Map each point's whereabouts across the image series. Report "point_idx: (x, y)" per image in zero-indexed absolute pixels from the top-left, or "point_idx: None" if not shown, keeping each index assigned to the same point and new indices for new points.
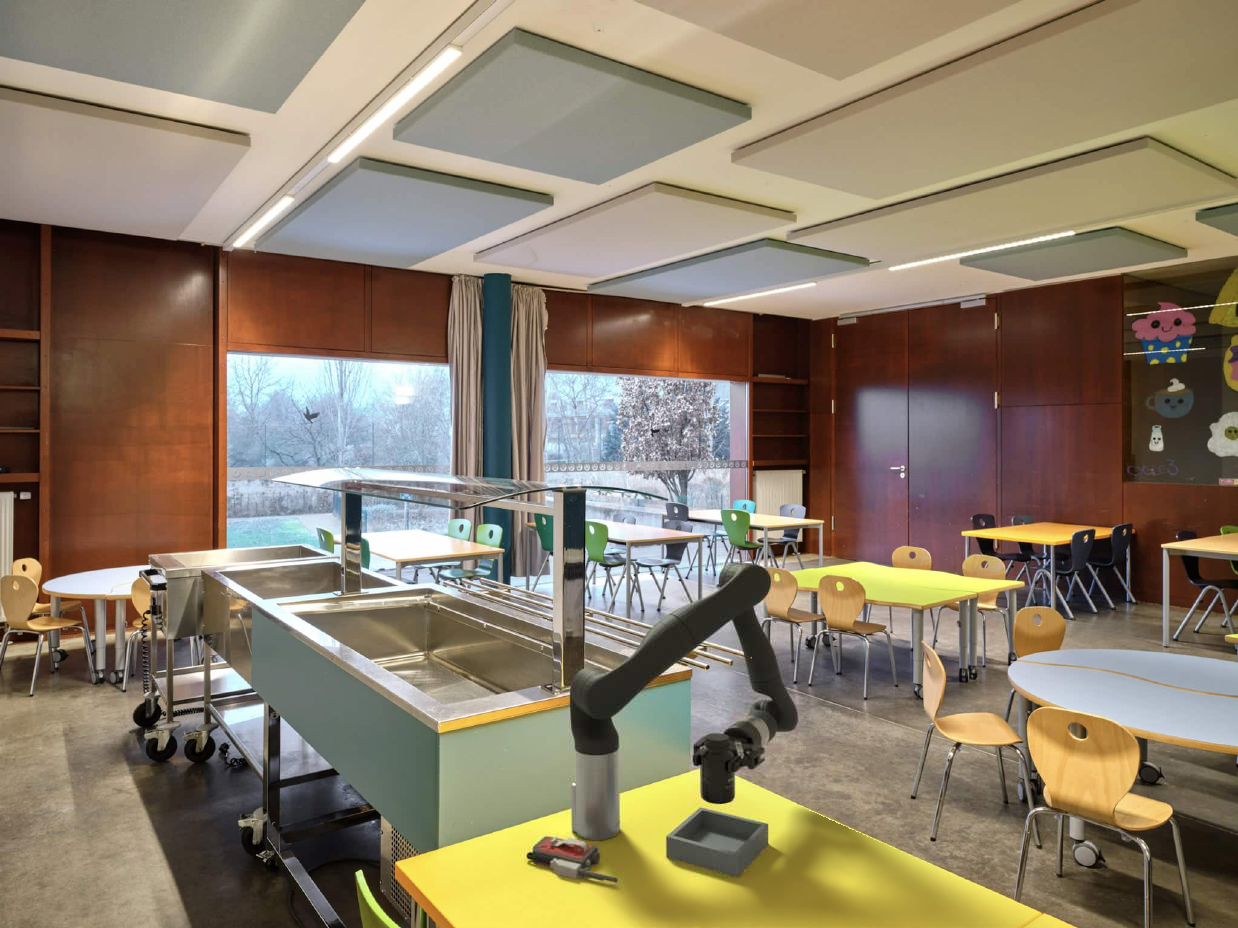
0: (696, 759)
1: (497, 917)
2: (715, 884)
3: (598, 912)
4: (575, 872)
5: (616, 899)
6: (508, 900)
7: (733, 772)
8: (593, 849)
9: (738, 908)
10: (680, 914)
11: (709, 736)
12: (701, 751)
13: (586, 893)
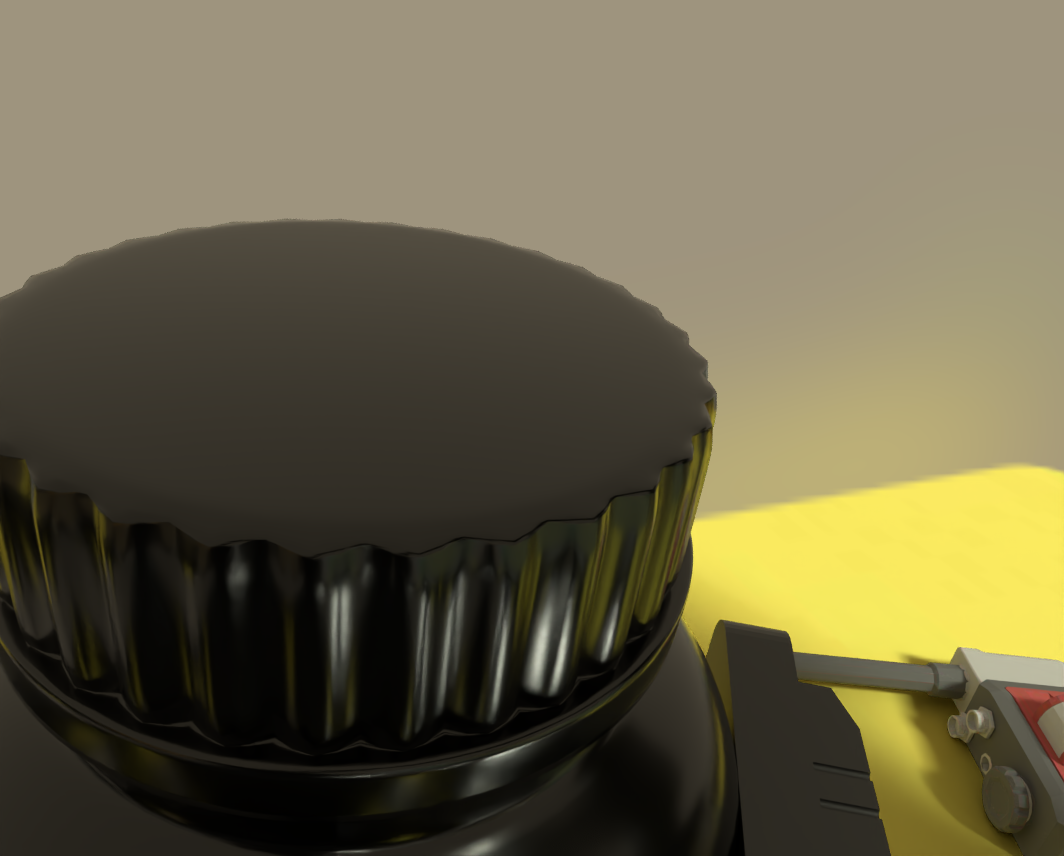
0: (713, 651)
1: (941, 481)
2: None
3: (708, 542)
4: (955, 655)
5: (701, 608)
6: (1001, 538)
7: None
8: (1042, 775)
9: None
10: None
11: (578, 324)
12: (768, 814)
13: (826, 614)
